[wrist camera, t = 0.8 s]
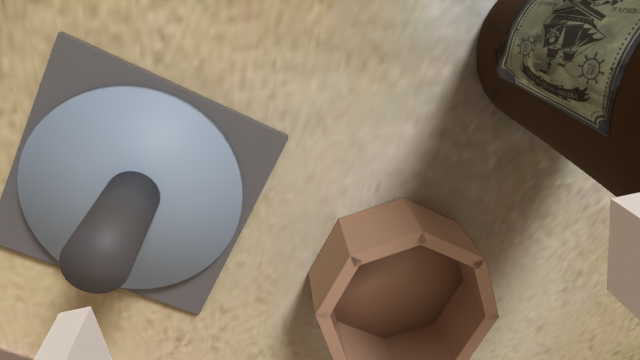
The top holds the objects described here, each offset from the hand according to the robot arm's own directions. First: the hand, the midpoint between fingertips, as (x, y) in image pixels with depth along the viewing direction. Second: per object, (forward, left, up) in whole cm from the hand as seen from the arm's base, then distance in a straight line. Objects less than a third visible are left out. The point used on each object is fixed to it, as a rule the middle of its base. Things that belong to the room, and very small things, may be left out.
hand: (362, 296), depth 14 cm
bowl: (+11, -8, -21) cm, 25 cm away
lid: (-7, -9, -21) cm, 23 cm away
